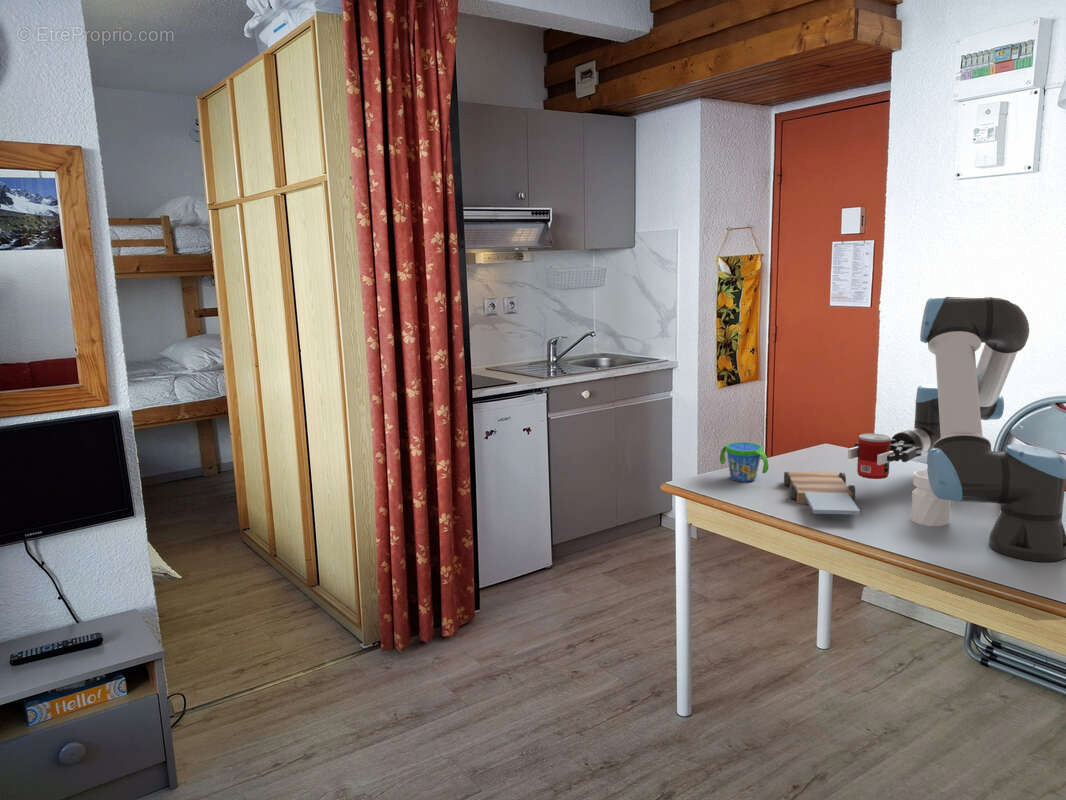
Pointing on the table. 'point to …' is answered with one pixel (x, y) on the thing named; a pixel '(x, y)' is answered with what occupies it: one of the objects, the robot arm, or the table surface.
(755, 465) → the snack cup
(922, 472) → the vase
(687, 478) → the table surface
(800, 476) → the flatbed
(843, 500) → the grey flat slab
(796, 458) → the table surface
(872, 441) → the canned food
